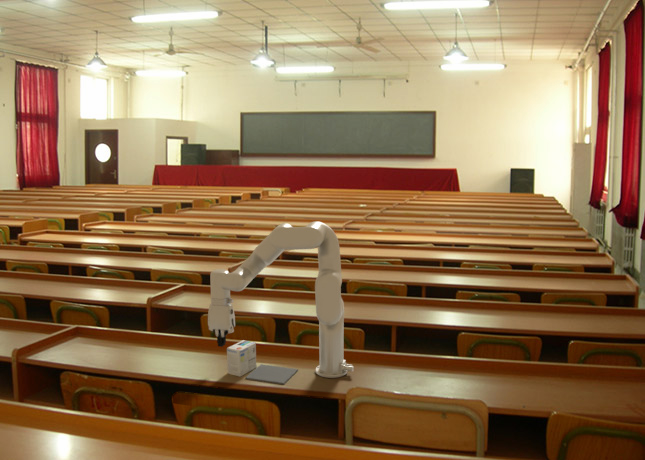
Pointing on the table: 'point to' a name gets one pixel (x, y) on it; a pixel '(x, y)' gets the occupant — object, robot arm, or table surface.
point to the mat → (272, 374)
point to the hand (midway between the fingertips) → (221, 345)
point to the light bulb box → (241, 358)
